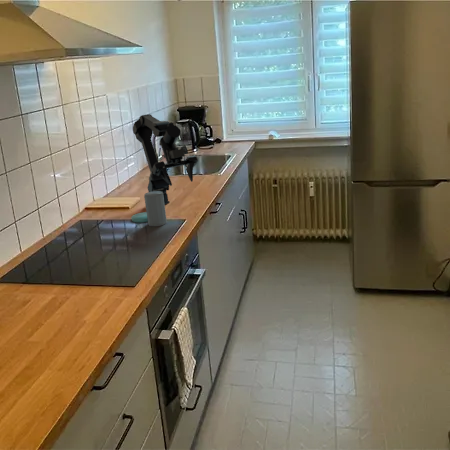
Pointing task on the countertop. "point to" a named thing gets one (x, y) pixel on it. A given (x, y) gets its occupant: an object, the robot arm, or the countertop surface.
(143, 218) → the dish
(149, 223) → the grey faceted cylinder
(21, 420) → the countertop surface
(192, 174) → the robot arm
